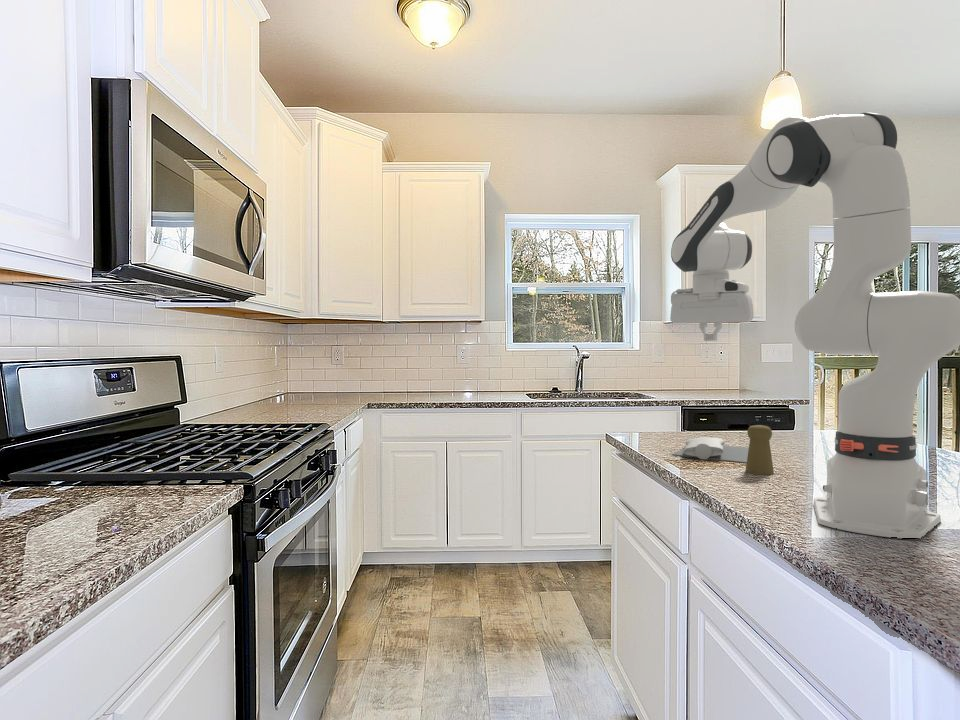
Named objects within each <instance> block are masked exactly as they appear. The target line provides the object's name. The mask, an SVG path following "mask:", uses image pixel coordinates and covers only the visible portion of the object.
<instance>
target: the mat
mask: <svg viewBox="0 0 960 720" xmlns="http://www.w3.org/2000/svg"><path fill="white" fill-rule="evenodd" d="M722 446H723V453H722V454H721V455H716V456H710V457H709V458H707V459H706V460H713V461H720V462H721V461H722V462H731V463H739V464H740V463H741V464H747V457H748V450H749V447H745V446H735V445H725V444H724V445H722ZM684 449H685V447H684V448H682V449H680V450H677V451H675V452H673V453H671V456H675V457H683V458H693V459H699V458H698V457H697V456H690V455H686V454H684V452H683V451H684Z"/></svg>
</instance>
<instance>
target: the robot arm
mask: <svg viewBox="0 0 960 720" xmlns="http://www.w3.org/2000/svg"><path fill="white" fill-rule="evenodd" d="M897 145H898V131H897V128H896V125H895V123H894V121H893V120H892V119H891V118H890V117H888V116H886V115H884V114H881V113H876V112H861V113H858V114H839V115H837V114H833V115H832V114H830V115H825V116H819V117H816V118H815V117H814V118H810V119H809V118H807V117H803V116H788V117H785V118H783V119H781V120H779V121H778V123H776V124H775V125H774V126H773V127H772V128H771V130H769V132H768V133H767V134H766V135H765V137H764V138H763V140H761V142H760V143H759V145H758V147H757V148H756V150H755V152H754V153H753V154H752V157H751V158H750V160H749V161H748V162H747V164H746V165H744V167H743V168H742V169H741V170H739V172H738V173H737V174H736V175H735V176H733V177H732V178H730V179H729V180H727V181H726V182H724V183H722V184H720V185H719V186H718V187H717V188H716V189H715V190H714V191H713V192H712V194H711V195H710V196H709V197H708V198H707V200H706V201H705V202H704V203H703V205H702V206H701V208H700V209H699V210H698V212H697V213H696V214H695V216H694V217H693V219H692V220H691V221H690V222H689V223H688V225H687V226H686V227H684V228H683V229H682V230H681V231H680V232H679V233H678V234H677V235H676V236H675V238H674V240H673V241H672V245H671V249H670V256H671V261H672V262H673V263H674V265H675V266H676V267H677V268H678V269H680V270H681V272H684V273H687V272H693V273H692V288H683V289H682V288H678V289H675V291H672V293H671V294H670V304H671V307H670V318H669V319H670V321H671V323H672V324H675V325H679V324H680V325H681V324H682V325H683V324H687V325H688V324H698V326H699V329H700V331H701V332H702V334H703V342H704V341H705V342H706V341H707V342H708V341H709V342H710V341H713V342H715V341H716V342H717V341H718V334H719V332H720V331H721V329H722V326H723V325H722V324H725V323H726V324H727V323H751V322H752V321H753V319H754V317H755V316H754V315H755V312H754V304H753V300H752V297H751V295H750V294H748V293H749V292H750V287H749V284H746V283H744V282H739V281H737V280H734V279H730V272H729V271H735V270H738V269H743V268H744V267H745V266H746V265H747V264H748V263H749V262H750V260H751V258H752V255H753V242H752V240H751V238H750V236H748V234H747V233H746V232H745V231H741V230H736V229H732V228H729V227H728V225H727V223H724V222H725V221H726V220H729V219H732V218H734V217H737V216H741V215H745V214H752V213H755V212H756V213H757V212H761V211H768V210H772V209H774V208H777V207H779V206H781V205H782V204H783V203H785V202H787V200H788V199H790V198H791V196H792V195H794V193H795V192H796V191H797V189H798V188H799V186H800V185H801V186H804V187H808V188H812V187H814V186H816V185H817V184H818V183H822V184H824V185H826V186H827V187H828V188H829V190H830V192H831V197H832V222H833V223H832V224H833V226H832V227H833V252H832V253H833V257H832V264H831V268H830V271H829V274H828V276H827V279H826V280H825V281H824V283H823V285H822V286H821V288H819V290H818V291H817V292H816V293H815V294H814V295H813V296H812V297H811V298H809V300H807V301H806V302H805V303H803V305H802V306H801V307H800V308H799V310H798V312H797V314H796V317H795V320H794V333H795V335H796V338H797V340H798V342H799V343H800V344H801V346H802V347H803V348H804V349H806V350H807V351H811V352H816V353H820V354H825V355H833V356H840V355H841V356H876V357H878V358H877V364H876V366H875V367H874V369H873V370H872V371H869V372H866V373H864V374H861V375H859V376H856V377H855V378H852V379H850V380H849V381H847V382H846V383H844V384H843V386H842V387H841V388H840V390H839V392H838V406H837V407H838V415H837V416H838V417H837V418H838V421H837V425H838V427H837V429H838V430H836V431H835V437H834V451H835V452H836V453H835V454H834V455H833V456H832V457H831V458H829V459H827V461H826V484H825V483H824V484H823V485H822V491H823V492H825V493H826V497H825V496H823V497H815V498H813V507H814V510H815V516H816V519H817V523H818V524H820V525H822V526H825V527H829V528H833V529H836V528H837V530H840V531H841V530H842V531H847V532H852V533H856V534H863V535H870V536H877V537H885V538H891V537H897V538H896V539H902V538H920V539H922V538H923V537H924V536H926V535H927V534H928V533H929V532H930V531H931V530H933V528H935V527H936V526H937V525H938V524H939V523H941V521H942V520H941V515H940V513H937V512H934V511H930V510H928V508H927V507H928V505H929V494H928V492H927V489H928V488H929V483H928V480H927V470H926V469H925V468H923V466H921V465H920V464H919V463H918V462H917V460H916V459H915V458H916V456H917V444H918V443H917V439H916V436H915V435H914V431H913V430H914V412H915V401H916V395H917V391H918V388H919V386H920V383H921V381H922V379H923V377H925V374H926V373H927V372H928V371H929V369H931V367H933V365H934V364H935V363H936V362H938V361H939V360H940V359H942V358H943V357H944V356H946V355H947V354H949V353H951V352H953V351H954V350H955V349H957V348H958V347H959V346H960V298H959V297H957V296H956V295H955V294H953V293H947V292H945V293H944V292H939V291H928V290H927V291H925V290H910V291H909V290H908V291H907V290H906V291H892V292H891V291H890V292H872V289H871V287H872V283H873V280H874V279H875V278H877V277H879V276H881V275H884V274H886V273H887V272H890V271H892V270H893V269H895V268H897V267H899V265H902V263H904V261H906V260H907V259H908V257H909V255H910V254H911V250H912V225H911V224H912V223H911V203H910V202H911V201H910V198H911V197H910V190H909V183H908V177H907V173H906V168H905V164H904V161H903V158H902V154H900V152H899V151H898V149H896V148H897ZM708 324H713V327H714V328H715V329H714V331H713V333H709V332H708V330H707V329H706V328H708ZM934 526H935V527H934ZM928 531H929V532H928ZM927 532H928V533H927ZM926 533H927V534H926ZM922 536H923V537H922ZM921 537H922V538H921Z"/></svg>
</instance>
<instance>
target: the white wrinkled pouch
mask: <svg viewBox="0 0 960 720" xmlns="http://www.w3.org/2000/svg"><path fill="white" fill-rule="evenodd" d="M684 443H685V447H684V448H685V449H684V448H683V449H684V451H683V452H684V454H686V455H690V456H697V457H698V458H697V459H700V460H708V459H707V458H709V457H710V456H716V455H721V454H722V453H723V446H722V445H725V444H726V441H725V439H722V438H720V437H713V436H712V437H710V436H702V437H701V436H698V437H694V438H689V439H687V440H686V441H685V442H684Z"/></svg>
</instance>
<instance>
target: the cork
mask: <svg viewBox="0 0 960 720" xmlns="http://www.w3.org/2000/svg"><path fill="white" fill-rule="evenodd" d="M747 436H748V438H749V442H748V443H749V444H748V445H749V446H748V448H749V450H748V457H747V463H745V464H746V465H745V472H746V473H748V474H751V475H755V476H756V475H758V476H770V475H774V474H775V472H774V465H773V458H772V450H771V442H770V440H771V438H772V436H773V431H772V429H771V427H769V426H768V425H763V424H756V425H754V424H753V425H751V426H749V427H748V428H747Z"/></svg>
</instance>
